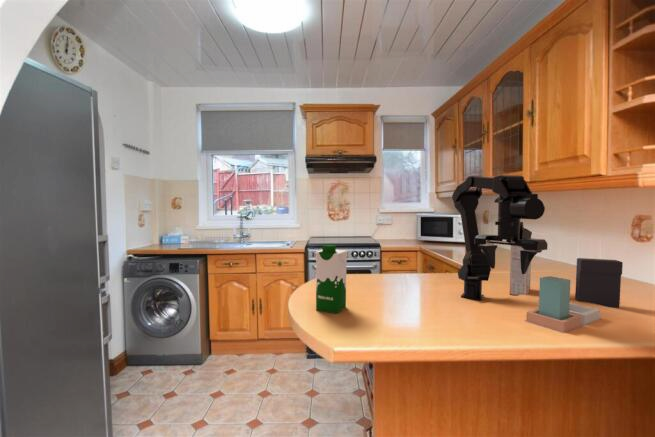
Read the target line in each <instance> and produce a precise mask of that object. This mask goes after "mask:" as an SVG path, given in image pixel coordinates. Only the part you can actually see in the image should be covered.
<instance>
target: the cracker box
mask: <svg viewBox="0 0 655 437" xmlns="http://www.w3.org/2000/svg"><path fill="white" fill-rule="evenodd" d="M511 241H512V240H511ZM511 243H512V242H511ZM520 250H524V249H523V248H522V247H521V246H513V245H510V259H509V260H510V261H509V295H511V296H515V297H516V296H521V295H526V296H528V294H529V293H530V290H531V270H532V269H531V267H532V266H531V265H532V261H531V262H530V265H529V267H528V269H527V271H526V273H525V274H522V272H521V258H520Z"/></svg>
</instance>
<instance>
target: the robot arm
mask: <svg viewBox="0 0 655 437" xmlns="http://www.w3.org/2000/svg"><path fill="white" fill-rule="evenodd" d="M472 188H473V189H472ZM474 188H476V189H474ZM482 189H486V190H491V191H492V193H495V194H497V195H498V197H497V198H495V200H494V203H496V204H498V205H497V206H498V207H497V208H498V209H497V221H495V222H494V225H495V226H497V235H496V234H495V235H494V234H479V228H478V227H479V226H478V222H477V214H476V210H477V209H478V205H479V199H480V198H481V196H483V190H482ZM451 198H452V199H451V200H452V201H453V204H454V209H456V210H457V212H459V213H460V220H461V225H462V232H463V239H464V245H465V255H464V256H463V258H462V266H460V268H459V270H458V271H457V275H458V276H457V277H458V279H459V280H461V281H463V293H462V294H461V295H460V297H461V298H465V299H470V300H477V301H482V299H483V298H484V296H485V295H484V294H482V292H483V291H482V289H483V282H484V281H486V282H488V281H489V279H490V275H491V270H492V269H493V270H494V269H496V251H497V248H498V245H504V246H505V245H506V246H511V245H513V246H521V247H522V248H523V249H524V250H520V258H521V272H522V274H525V273H526V271H527V269H528V267H529V265H530V262H531V263H532V260H533V258H534V257H535V256H536V255H537V254H538V253H542V252H543V251H547V250H548V241H547V240H546V239H543V238H532V234H533V232H532V231H531V230H529V229H528V228H525V227H524V222H523V221H521V220H534V221H535V220H538V219H540V218H542V216H543V215H544V214H545V210H546V208H545V205H544V202H543V201H542V200H541V199H540V198H539V194H538V193H533V192H532V191H531V189H530V186H529V185H528V184H527V181H526V180H525V177H524V176H523V175H522V174H521V175H519V174H518V175H515V174H514V175H512V174H511V175H510V174H507V175H506V174H500V175H495V176H494V177H493V176H492V177H491V176H483V175H470V176H468V177H466V179H465V180H464V181H463V182H461V183H460V184H459V185H457V186H456V188H455V189H454V191H453V192H452V196H451ZM511 240H512V241H511ZM511 242H512V243H511Z"/></svg>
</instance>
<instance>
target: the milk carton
mask: <svg viewBox="0 0 655 437" xmlns="http://www.w3.org/2000/svg"><path fill="white" fill-rule="evenodd" d="M336 246H337V245H336V244H322V246H321V247H322V248H321V249H320V250H317V251H315V264H316V267H315V268H316V270H315V271H316V272H315V273H316V274H315V310H316V311H319V312H325V313H332V314H338V313H339V312H341V311H342V310H344V309H345V308H346V306H347V304H346V303H347V261H348V250H343V249H342V250H341V249H337V248H336Z"/></svg>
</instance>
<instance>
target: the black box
mask: <svg viewBox="0 0 655 437" xmlns="http://www.w3.org/2000/svg"><path fill="white" fill-rule="evenodd" d="M623 264H624V263H623V262H622V261H620V260H617V259H604V258H602V259H600V258H587V257H586V258H585V257H584V258H583V257H578V258H576V272H575V275H576V276H575V293H574V294H575V298H574V300H575V301H577V302H581V303H589V304H594V305H598V306H604V307H607V308H615V309H618V308H620V303H621V285H622V284H621V282H622V275H623Z"/></svg>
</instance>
